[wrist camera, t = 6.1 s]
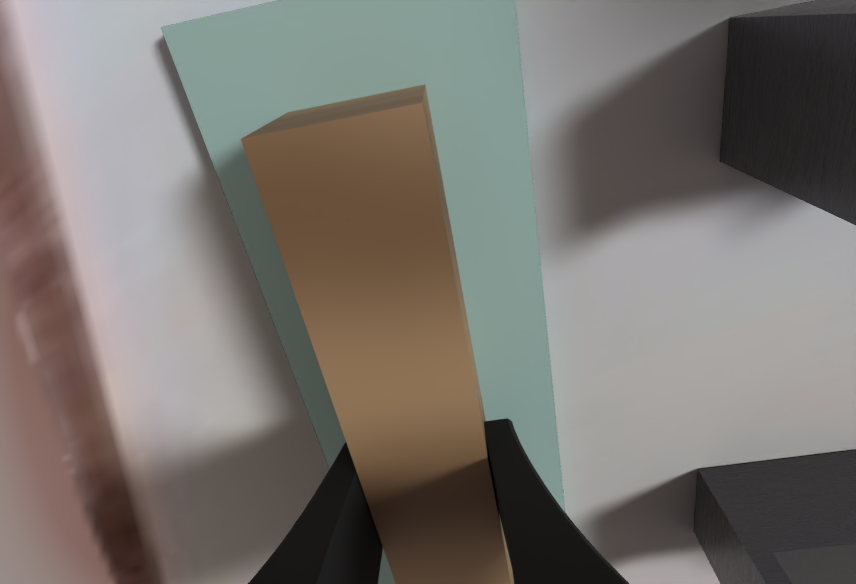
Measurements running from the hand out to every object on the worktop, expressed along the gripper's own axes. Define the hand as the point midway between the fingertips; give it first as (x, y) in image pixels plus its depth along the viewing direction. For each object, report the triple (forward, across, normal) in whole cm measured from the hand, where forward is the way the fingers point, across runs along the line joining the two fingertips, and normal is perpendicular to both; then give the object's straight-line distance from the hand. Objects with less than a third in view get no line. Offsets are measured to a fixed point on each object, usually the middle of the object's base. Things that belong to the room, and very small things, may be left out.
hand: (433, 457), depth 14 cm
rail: (+1, 0, 0) cm, 1 cm away
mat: (+2, 0, 0) cm, 2 cm away
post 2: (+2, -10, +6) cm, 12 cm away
